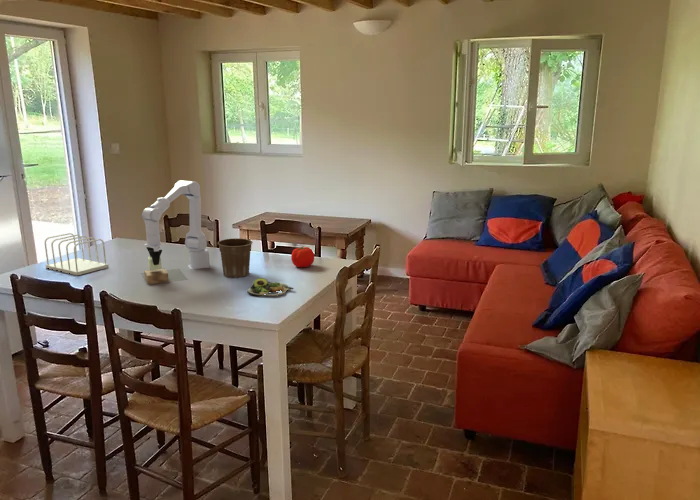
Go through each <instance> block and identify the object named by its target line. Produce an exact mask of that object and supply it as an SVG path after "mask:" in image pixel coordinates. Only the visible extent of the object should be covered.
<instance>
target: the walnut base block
mask: <svg viewBox="0 0 700 500" xmlns="http://www.w3.org/2000/svg"><path fill="white" fill-rule="evenodd" d="M166 270H167V269H165V268H162V269H158V270H150V269H147V270H143V271H144V272H143V273H145V280H146V282H147V283H148V284H149V285H154V284H153V283H157V284H162V283H161V282H164V283H170V282H169V281H168V273H167V271H166ZM145 280H144V281H145ZM146 282H145V283H146Z"/></svg>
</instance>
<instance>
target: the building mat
mask: <svg viewBox="0 0 700 500" xmlns="http://www.w3.org/2000/svg"><path fill="white" fill-rule="evenodd" d="M165 270H166V271H167V273H168V281H169V282H168V283H170V282H178V281H179V282H180V281H185V280H188V278H187V276H185V274H184V273H183V272H182V271H181V269H180V268H174V269H165ZM140 275H141V276H142V278H143V280H144V282H145V284H146V285H150V284H148V283H147V282H146V280H145V273H144V272H141V273H140ZM164 283H165V282H161V283H160V284H164ZM155 284H158V283H153V284H152V285H155Z"/></svg>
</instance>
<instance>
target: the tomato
mask: <svg viewBox="0 0 700 500" xmlns="http://www.w3.org/2000/svg"><path fill="white" fill-rule="evenodd" d="M304 246H305V245H302V246H300V247H296V248H295V249H293V250H292V253H291V256H290V257H291V262H292V264H293V265H294V266H295V267H296V268H297V267H298V268H308V267H310V266H311V265H313V263H314V262H315V253H314V250H313V249H311V248H310V247H309V246H307V247H304Z"/></svg>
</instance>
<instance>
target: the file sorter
mask: <svg viewBox="0 0 700 500" xmlns="http://www.w3.org/2000/svg"><path fill="white" fill-rule="evenodd" d="M63 236H64V237H63ZM58 237H60V238H58ZM54 238H55V239H54ZM49 239H53V240H52V241H51V252H52V259H53V263H50V262H49V256H48V255H49V254H48V248H47V241H48V240H49ZM76 239H77V240H76ZM90 239H92V240H90ZM60 240H61V241H60ZM85 240H86V241H85ZM56 241H59V243H58V245H57V246H58V254H59V260H60V261H58V262H56V257H55V252H54V242H56ZM68 241H69V242H68ZM97 241H101V243H102V249H103V261H104V262H99V255H98V247H97ZM63 242H68V243H67V244H66V246H65V250H66V251H65V252H66V258H67V260H63V259H62V253H61V244H62V243H63ZM92 242H94V247H95V254H96V261H95V260H92V254H91V248H90V247H91V246H90V243H92ZM72 243H73V244H74V247H73V254H74V258H70V255H69V250H68V246H69V245H71V244H72ZM83 244H87V248H88V254H89V259H85V253H84V247H83V246H84V245H83ZM79 245H80V247H81V253H82V255H81V256H82V258H79V257H78V252H77V246H79ZM44 249H45V257H46V264H45V269H47V268H49V269H48V270H52V269H53V271H56V270H58V271H57V272H60V271H62V273H66V274H69V273H70V274H69V275H74V276H81V275H84V274H88V273H91V272H92V273H93V272H96V271H100V270H104V269H107V268H108V269H109V268H110V267H109V264H108V263H107V258H106V248H105V242H104V240H103V239H101V238H97V239H95V238H94V237H92V236H90V237H88V236H86V235H80V234H73V233H71V232H69V233H62V234H59V235H53V236H49V237H48V236H47V238H45V240H44Z"/></svg>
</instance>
